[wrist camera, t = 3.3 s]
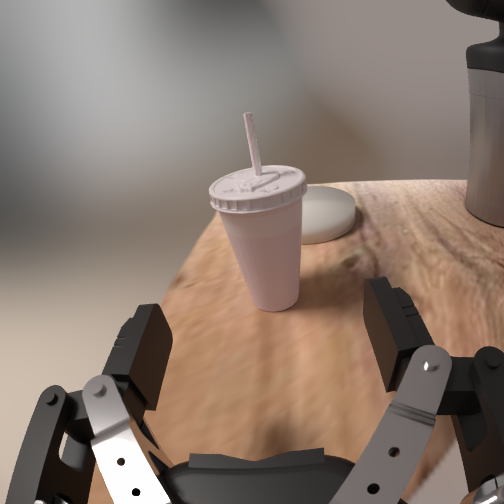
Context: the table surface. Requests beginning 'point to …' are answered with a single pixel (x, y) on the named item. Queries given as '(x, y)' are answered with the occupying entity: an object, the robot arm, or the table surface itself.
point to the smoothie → (264, 225)
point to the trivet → (326, 214)
